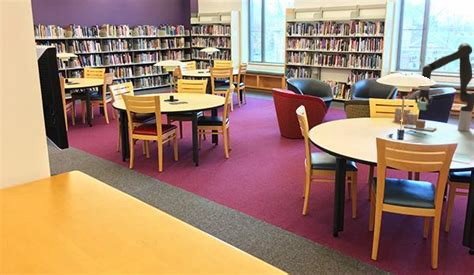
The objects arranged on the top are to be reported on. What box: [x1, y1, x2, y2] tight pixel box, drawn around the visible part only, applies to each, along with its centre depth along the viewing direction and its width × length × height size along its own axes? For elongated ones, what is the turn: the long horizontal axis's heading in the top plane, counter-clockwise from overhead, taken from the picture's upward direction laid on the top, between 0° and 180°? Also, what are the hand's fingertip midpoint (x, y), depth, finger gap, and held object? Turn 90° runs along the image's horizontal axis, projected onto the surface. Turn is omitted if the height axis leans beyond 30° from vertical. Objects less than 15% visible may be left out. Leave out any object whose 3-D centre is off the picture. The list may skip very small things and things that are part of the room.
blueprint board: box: [403, 123, 437, 133], centre depth 362 cm, size 12×24×2 cm, turn 52°
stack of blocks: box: [393, 107, 419, 125], centre depth 389 cm, size 21×6×12 cm, turn 28°
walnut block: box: [415, 119, 426, 128], centre depth 361 cm, size 6×6×6 cm
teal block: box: [417, 101, 428, 111], centre depth 357 cm, size 6×6×6 cm
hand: (422, 108), depth 358 cm, fingers closed on teal block, 6 cm apart
